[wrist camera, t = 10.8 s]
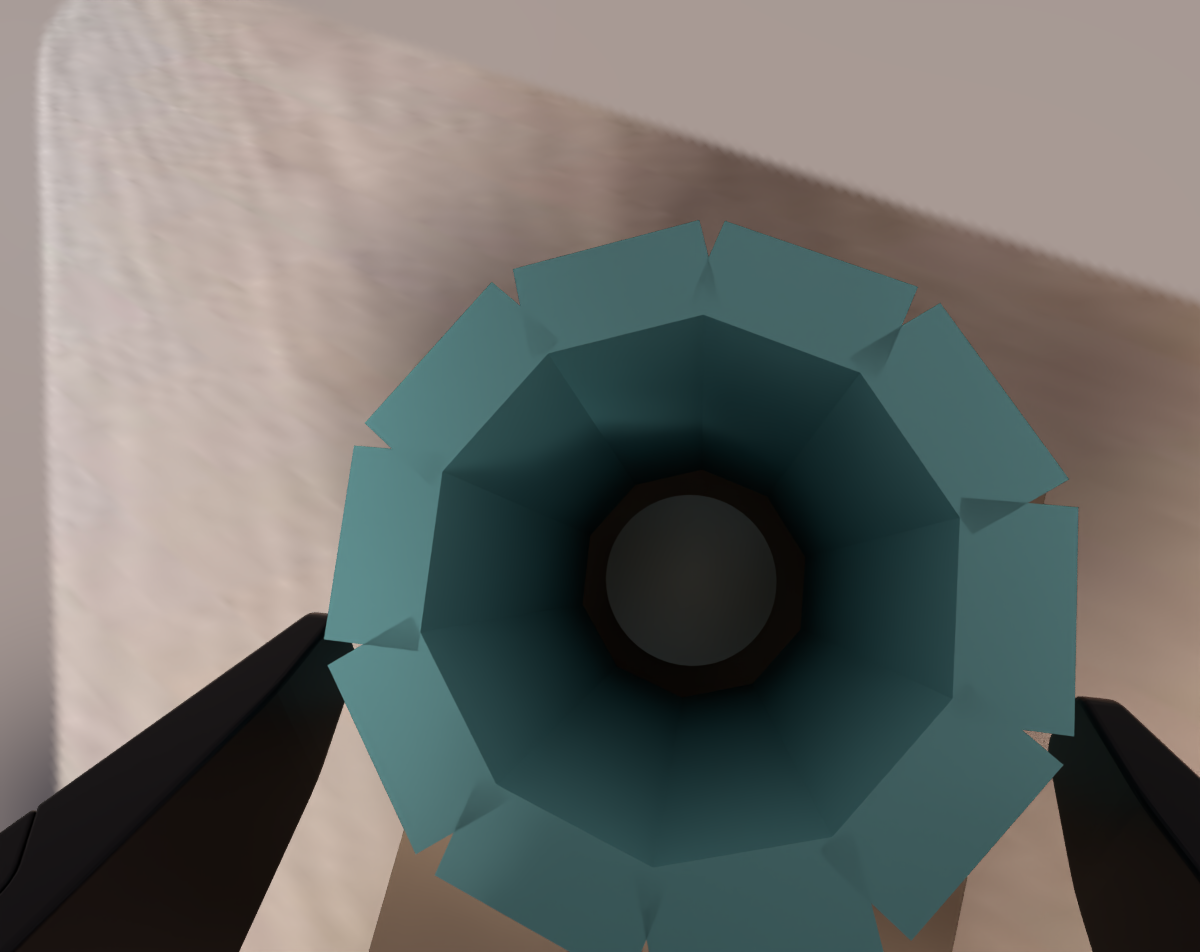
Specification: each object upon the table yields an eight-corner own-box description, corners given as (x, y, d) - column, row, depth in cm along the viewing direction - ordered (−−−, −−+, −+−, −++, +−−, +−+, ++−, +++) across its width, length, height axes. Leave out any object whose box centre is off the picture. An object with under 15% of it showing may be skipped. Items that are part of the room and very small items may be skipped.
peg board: (877, 1231, 15) (958, 1527, 10) (360, 1017, 17) (229, 1183, 12) (1030, 493, 17) (1159, 457, 12) (543, 379, 19) (490, 310, 14)
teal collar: (892, 705, 16) (1209, 905, 6) (570, 765, 16) (378, 1033, 7) (810, 401, 17) (961, 151, 7) (514, 471, 18) (281, 329, 8)
